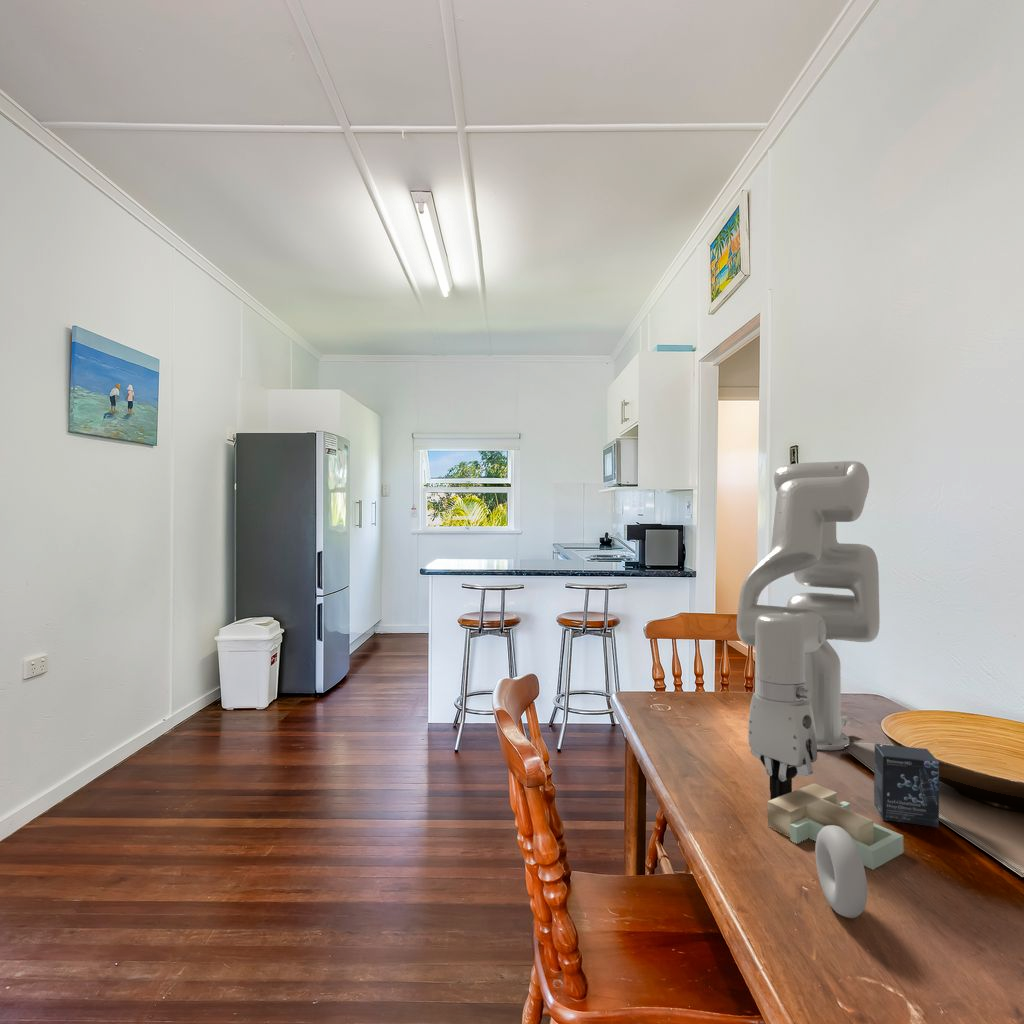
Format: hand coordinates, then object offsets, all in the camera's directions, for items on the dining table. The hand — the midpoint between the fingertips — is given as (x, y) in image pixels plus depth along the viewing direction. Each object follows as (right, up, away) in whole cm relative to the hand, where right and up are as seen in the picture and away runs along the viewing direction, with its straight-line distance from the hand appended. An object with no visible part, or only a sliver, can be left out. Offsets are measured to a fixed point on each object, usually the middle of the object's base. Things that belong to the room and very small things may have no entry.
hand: (780, 800), depth 101 cm
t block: (+4, -2, -7) cm, 8 cm away
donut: (-4, -2, -25) cm, 25 cm away
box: (+19, -2, -2) cm, 20 cm away
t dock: (+6, -2, -10) cm, 12 cm away
